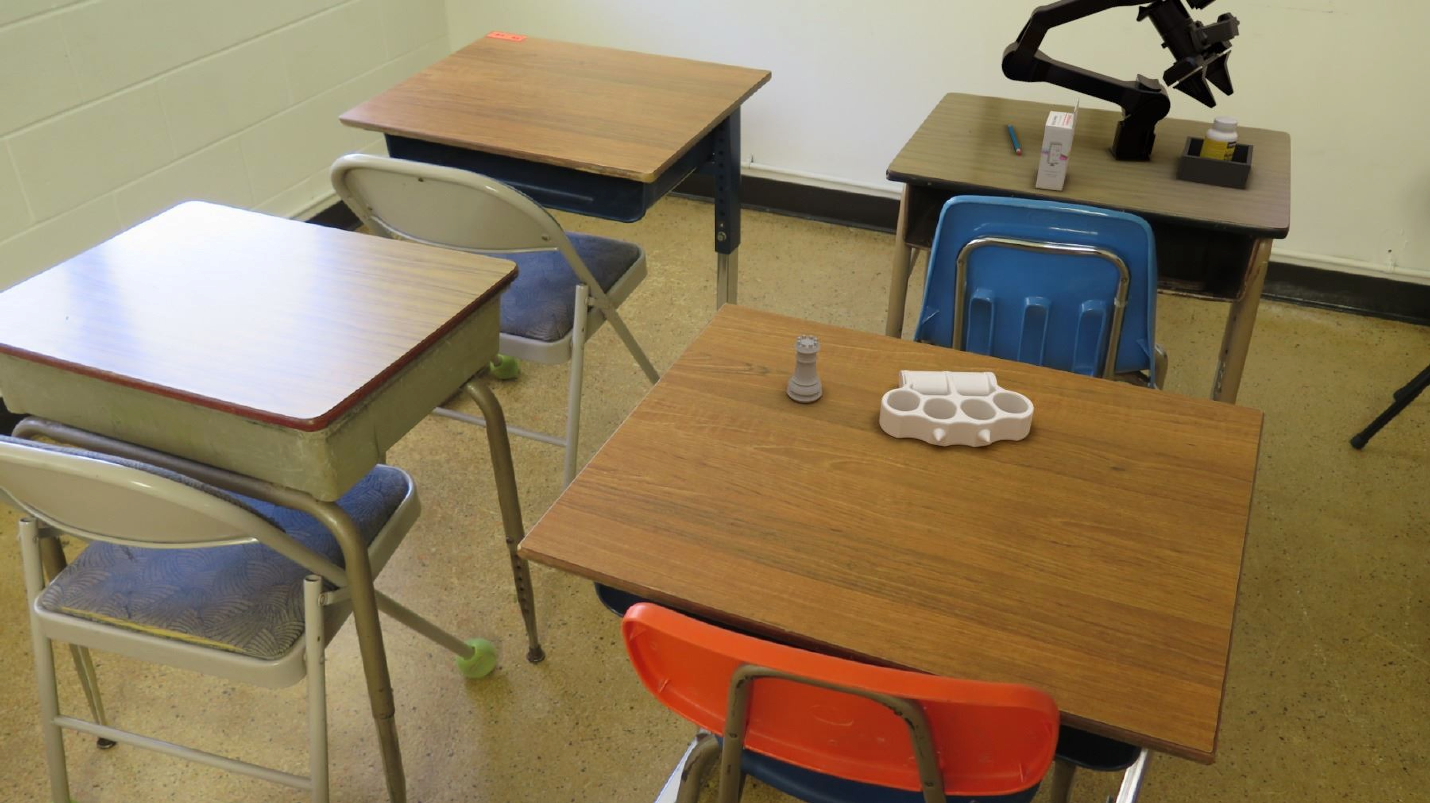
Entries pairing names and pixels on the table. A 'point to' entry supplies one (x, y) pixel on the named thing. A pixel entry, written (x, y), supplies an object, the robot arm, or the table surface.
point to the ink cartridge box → (1056, 149)
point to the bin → (1215, 165)
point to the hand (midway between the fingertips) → (1222, 100)
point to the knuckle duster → (954, 409)
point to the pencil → (1014, 140)
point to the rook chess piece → (805, 372)
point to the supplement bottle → (1220, 139)
